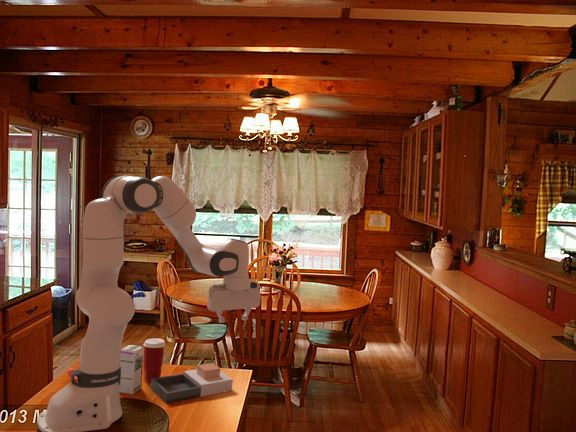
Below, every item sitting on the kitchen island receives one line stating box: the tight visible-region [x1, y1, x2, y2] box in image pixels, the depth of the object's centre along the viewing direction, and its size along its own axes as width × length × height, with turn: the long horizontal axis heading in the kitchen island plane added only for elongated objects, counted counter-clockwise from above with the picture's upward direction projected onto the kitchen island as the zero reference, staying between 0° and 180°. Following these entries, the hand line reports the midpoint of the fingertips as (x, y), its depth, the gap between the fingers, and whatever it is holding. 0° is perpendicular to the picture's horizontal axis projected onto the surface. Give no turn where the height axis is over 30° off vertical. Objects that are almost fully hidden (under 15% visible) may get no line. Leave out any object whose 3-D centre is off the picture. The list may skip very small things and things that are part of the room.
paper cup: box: [142, 337, 166, 383], centre depth 168 cm, size 8×8×14 cm
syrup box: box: [119, 344, 144, 395], centre depth 157 cm, size 6×6×14 cm
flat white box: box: [183, 368, 234, 398], centre depth 166 cm, size 12×14×4 cm
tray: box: [150, 373, 201, 404], centre depth 158 cm, size 12×14×3 cm
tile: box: [196, 362, 221, 379], centre depth 165 cm, size 6×6×3 cm
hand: (233, 321), depth 170 cm, fingers open, 8 cm apart
